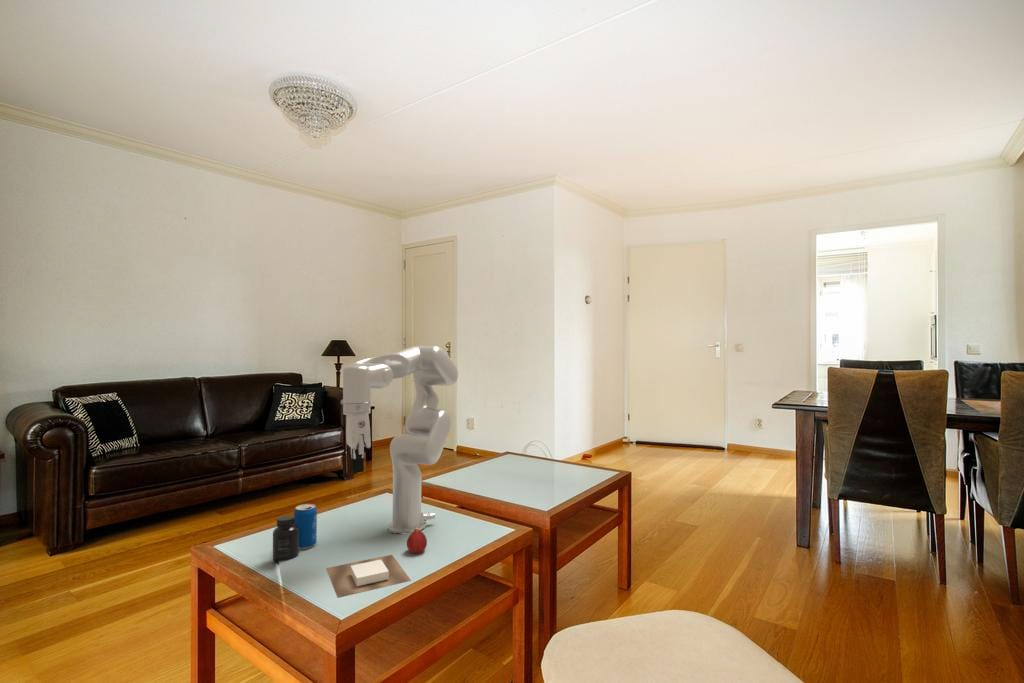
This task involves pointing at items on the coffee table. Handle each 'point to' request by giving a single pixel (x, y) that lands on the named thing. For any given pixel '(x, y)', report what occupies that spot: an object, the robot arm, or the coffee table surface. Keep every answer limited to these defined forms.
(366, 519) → the coffee table surface
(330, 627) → the coffee table surface
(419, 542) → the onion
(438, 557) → the coffee table surface
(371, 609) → the coffee table surface
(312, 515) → the beverage can
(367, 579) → the tile
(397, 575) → the board
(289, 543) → the supplement bottle
